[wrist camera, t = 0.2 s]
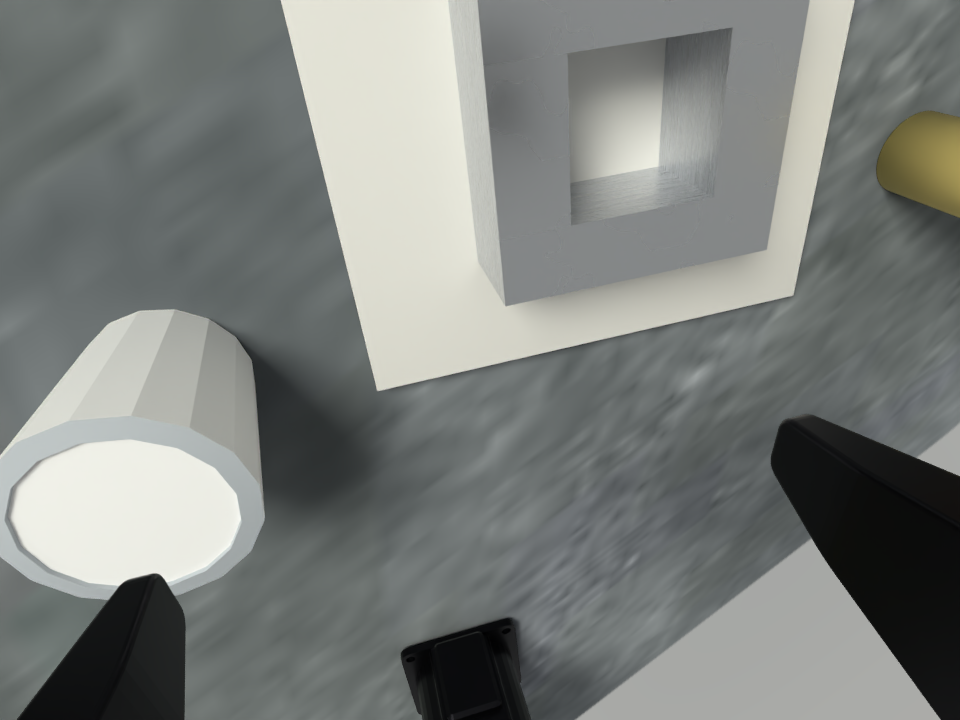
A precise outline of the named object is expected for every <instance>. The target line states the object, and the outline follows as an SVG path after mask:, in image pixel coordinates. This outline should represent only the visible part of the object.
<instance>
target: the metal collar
mask: <svg viewBox="0 0 960 720" xmlns="http://www.w3.org/2000/svg"><path fill="white" fill-rule="evenodd" d="M809 2H810V0H448V4H449V13H450V21H451V30H452V39H453V48H454V56H455V65H456V74H457V83H458V91H459V100H460V109H461V118H462V126H463V135H464V144H465V152H466V161H467V170H468V179H469V187H470V196H471V205H472V214H473V222H474V231H475V240H476V249H477V257H478V263H479V264H480V266H481V267H482V269H483V271H484V272H485V274H486V276H487V277H488V279H489V281H490V282H491V284H492V285H493V287H494V289H495V290H496V292H497V294H498V295H499V297H500V299H501V300H502V302H503V303H504V305H505V306H510V305H515V304H519V303H524V302H528V301H533V300H538V299H542V298H547V297H552V296H556V295H561V294H565V293H570V292H575V291H579V290H584V289H589V288H593V287H598V286H602V285H607V284H612V283H616V282H621V281H625V280H630V279H635V278H639V277H644V276H649V275H653V274H658V273H662V272H667V271H672V270H676V269H681V268H686V267H690V266H695V265H699V264H704V263H709V262H713V261H718V260H723V259H727V258H732V257H736V256H741V255H746V254H750V253H755V252H760V251H764V250H767V246H768V240H769V234H770V228H771V223H772V217H773V211H774V205H775V199H776V194H777V188H778V182H779V176H780V170H781V165H782V159H783V153H784V147H785V141H786V135H787V130H788V124H789V118H790V112H791V106H792V101H793V95H794V89H795V83H796V77H797V72H798V66H799V60H800V54H801V48H802V43H803V37H804V31H805V25H806V19H807V14H808V8H809ZM662 38H666V48H665V64H664V81H663V98H662V114H661V131H660V148H659V164H658V167H653V168H648V169H642V170H637V171H632V172H626V173H621V174H616V175H611V176H605V177H600V178H595V179H589V180H584V181H579V182H573V183H570V144H569V95H568V53H572V52H578V51H585V50H591V49H598V48H604V47H610V46H617V45H623V44H630V43H636V42H642V41H649V40H655V39H662Z"/></svg>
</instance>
